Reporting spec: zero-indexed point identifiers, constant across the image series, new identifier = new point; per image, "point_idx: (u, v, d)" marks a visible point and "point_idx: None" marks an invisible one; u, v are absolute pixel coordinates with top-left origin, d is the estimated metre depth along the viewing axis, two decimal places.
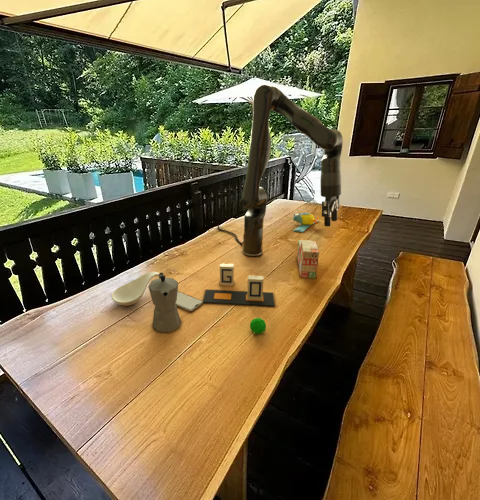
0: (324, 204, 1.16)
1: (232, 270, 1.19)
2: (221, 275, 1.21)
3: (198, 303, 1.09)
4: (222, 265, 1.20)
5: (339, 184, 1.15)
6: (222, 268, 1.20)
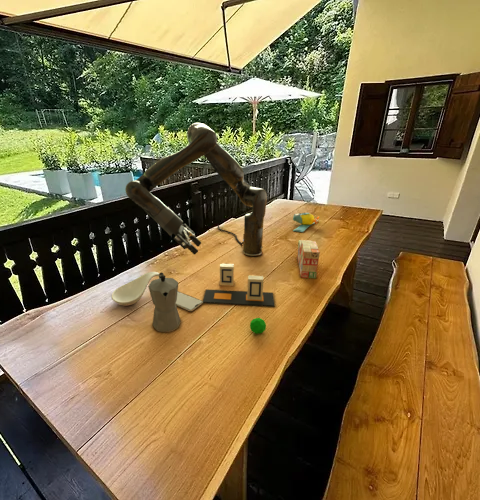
0: None
1: (232, 270, 1.19)
2: (221, 275, 1.21)
3: (198, 303, 1.09)
4: (222, 265, 1.20)
5: None
6: (222, 268, 1.20)
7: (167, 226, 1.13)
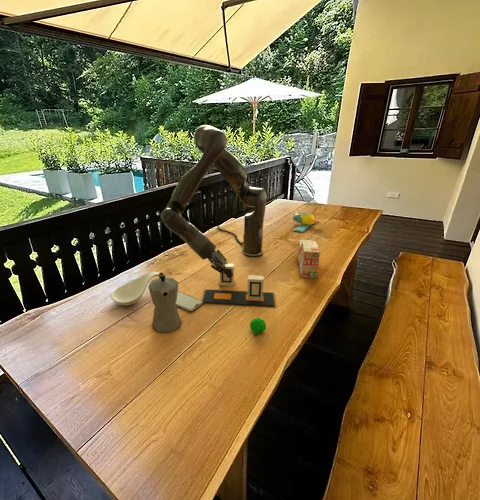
0: None
1: (232, 270, 1.19)
2: (221, 275, 1.21)
3: (198, 303, 1.09)
4: None
5: None
6: None
7: (201, 251, 1.16)
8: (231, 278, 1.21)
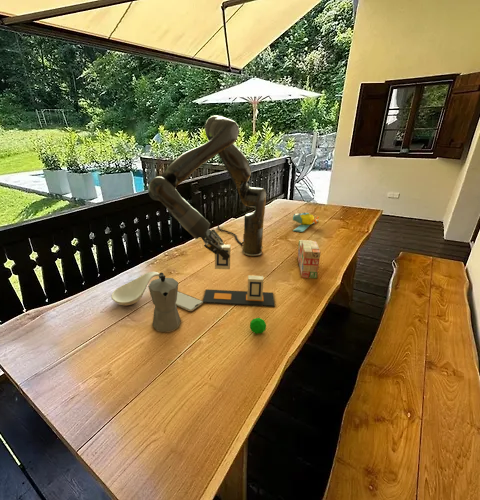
0: None
1: (229, 251, 1.05)
2: (216, 257, 1.07)
3: (198, 303, 1.09)
4: None
5: None
6: None
7: (193, 229, 1.01)
8: (227, 260, 1.07)
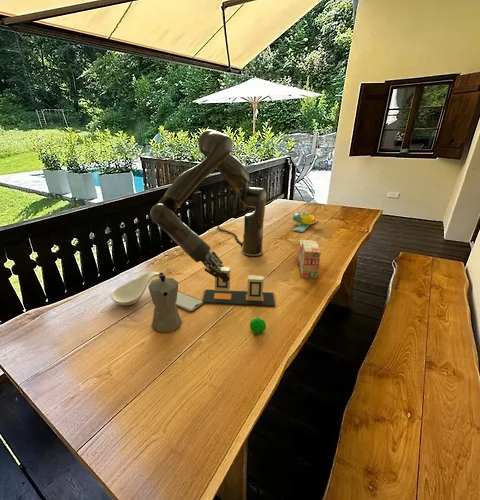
0: None
1: (228, 274, 1.08)
2: (216, 279, 1.10)
3: (198, 303, 1.09)
4: None
5: None
6: None
7: (194, 253, 1.04)
8: (227, 283, 1.09)
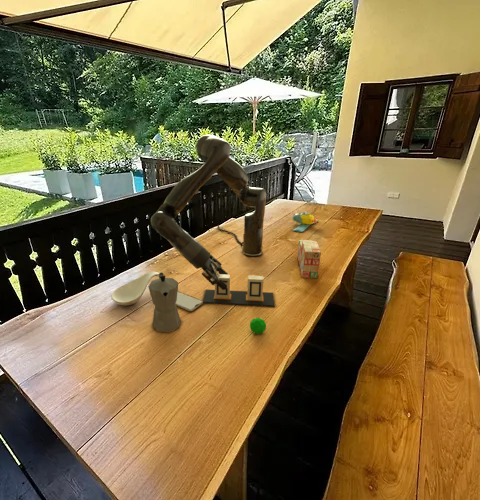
0: None
1: (228, 281, 1.09)
2: (216, 287, 1.11)
3: (198, 303, 1.09)
4: None
5: None
6: None
7: (194, 260, 1.05)
8: (227, 290, 1.11)
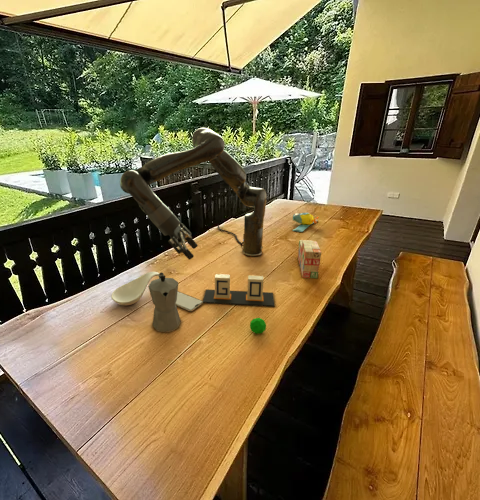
0: None
1: (228, 281, 1.09)
2: (216, 287, 1.11)
3: (198, 303, 1.09)
4: (217, 276, 1.10)
5: None
6: (217, 279, 1.10)
7: (162, 226, 1.02)
8: (227, 290, 1.11)
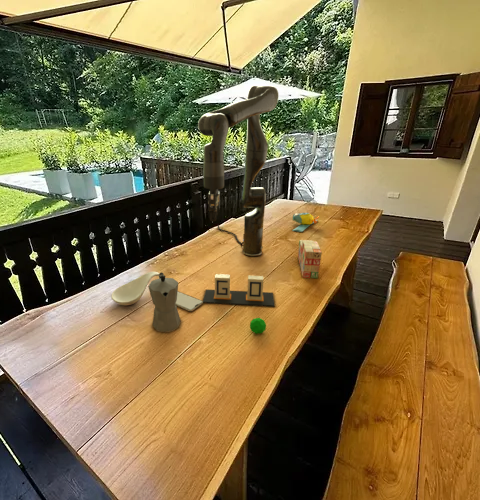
0: None
1: (228, 281, 1.09)
2: (216, 287, 1.11)
3: (198, 303, 1.09)
4: (217, 276, 1.10)
5: None
6: (217, 279, 1.10)
7: (211, 179, 1.05)
8: (227, 290, 1.11)
